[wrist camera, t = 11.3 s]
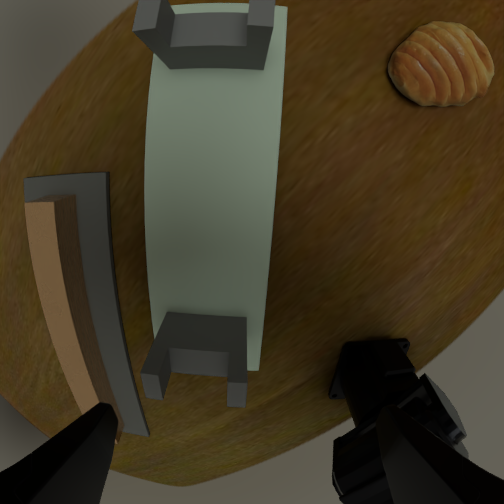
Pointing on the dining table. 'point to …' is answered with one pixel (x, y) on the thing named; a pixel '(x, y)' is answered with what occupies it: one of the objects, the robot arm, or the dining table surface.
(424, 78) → the pastry
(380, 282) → the dining table surface
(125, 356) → the rubber mat
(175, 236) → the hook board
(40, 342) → the dining table surface
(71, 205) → the copper rail
